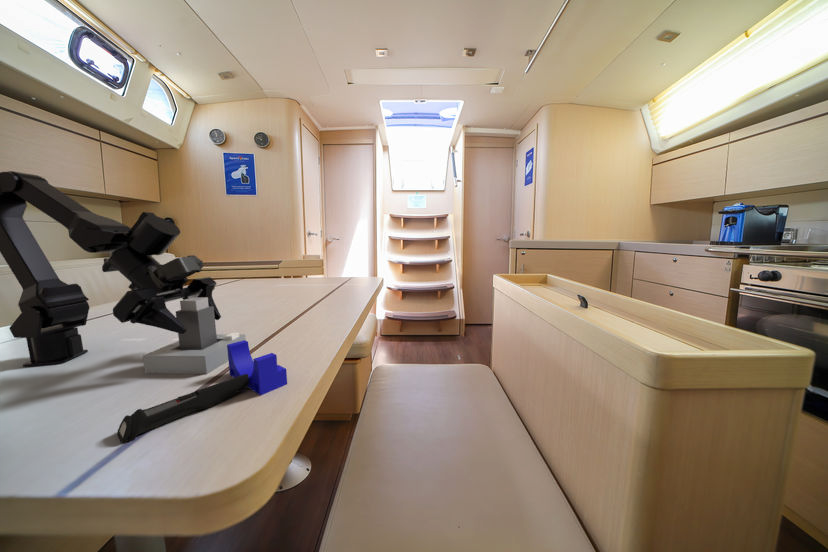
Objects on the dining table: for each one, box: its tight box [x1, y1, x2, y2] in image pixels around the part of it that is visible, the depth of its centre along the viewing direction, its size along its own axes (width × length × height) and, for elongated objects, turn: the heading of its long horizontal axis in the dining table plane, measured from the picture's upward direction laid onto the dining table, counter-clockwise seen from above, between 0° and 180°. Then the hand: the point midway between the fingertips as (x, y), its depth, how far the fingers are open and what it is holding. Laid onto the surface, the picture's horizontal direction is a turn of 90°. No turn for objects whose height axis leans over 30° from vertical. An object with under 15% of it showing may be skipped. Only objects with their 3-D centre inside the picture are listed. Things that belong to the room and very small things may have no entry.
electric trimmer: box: [116, 374, 249, 444], centre depth 42 cm, size 4×16×3 cm, turn 143°
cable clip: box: [227, 340, 288, 396], centre depth 51 cm, size 12×4×6 cm, turn 53°
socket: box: [142, 332, 247, 375], centre depth 60 cm, size 12×12×4 cm
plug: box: [175, 297, 217, 350], centre depth 59 cm, size 4×4×13 cm
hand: (203, 324), depth 59 cm, fingers open, 9 cm apart
